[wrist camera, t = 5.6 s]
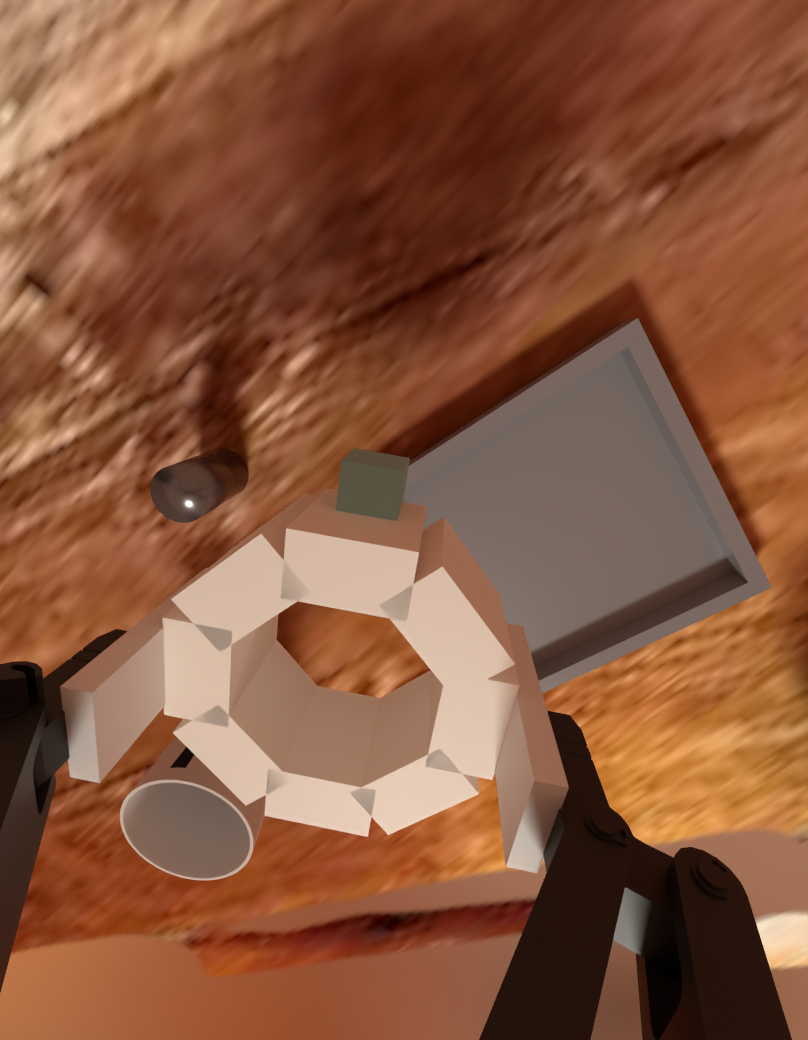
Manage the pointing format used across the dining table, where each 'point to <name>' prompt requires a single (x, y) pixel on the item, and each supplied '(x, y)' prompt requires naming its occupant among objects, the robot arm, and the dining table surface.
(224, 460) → the capsule
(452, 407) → the dining table surface
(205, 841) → the cup
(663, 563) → the tray
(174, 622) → the ring
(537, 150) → the dining table surface
